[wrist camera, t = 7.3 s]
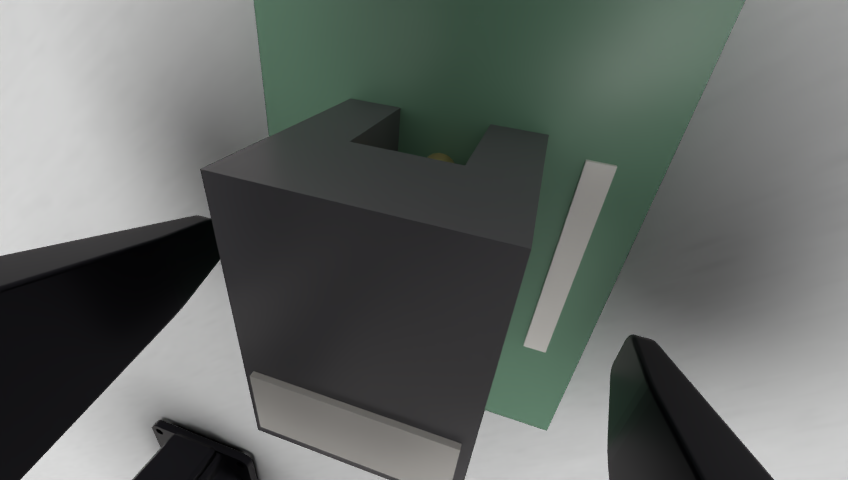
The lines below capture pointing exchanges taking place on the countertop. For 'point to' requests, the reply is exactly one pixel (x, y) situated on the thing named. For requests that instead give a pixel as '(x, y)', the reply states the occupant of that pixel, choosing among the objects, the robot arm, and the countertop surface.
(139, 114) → the countertop surface
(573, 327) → the header board
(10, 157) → the countertop surface
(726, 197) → the countertop surface
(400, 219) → the plug
